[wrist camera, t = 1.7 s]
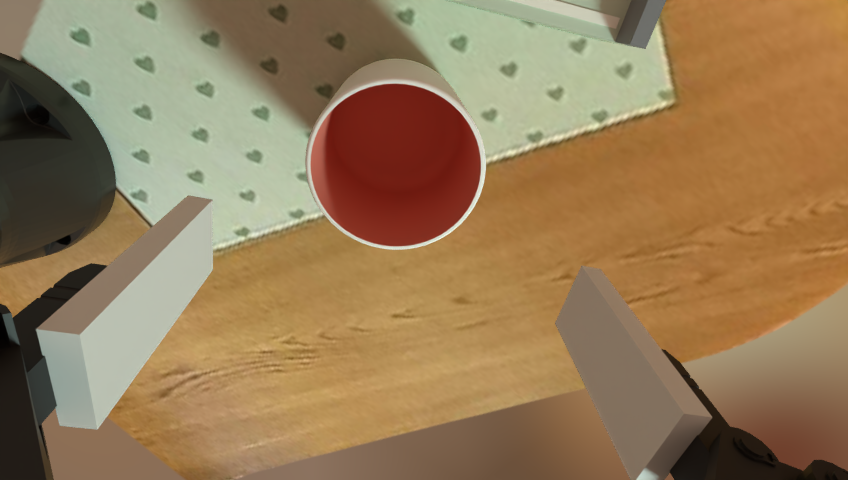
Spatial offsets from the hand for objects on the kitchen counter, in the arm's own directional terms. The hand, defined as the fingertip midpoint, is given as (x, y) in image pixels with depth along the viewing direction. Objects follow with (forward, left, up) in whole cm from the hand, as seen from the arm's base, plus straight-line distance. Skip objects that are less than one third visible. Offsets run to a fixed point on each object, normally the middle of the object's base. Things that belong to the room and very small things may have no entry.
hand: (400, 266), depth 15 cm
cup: (0, 0, -20) cm, 20 cm away
